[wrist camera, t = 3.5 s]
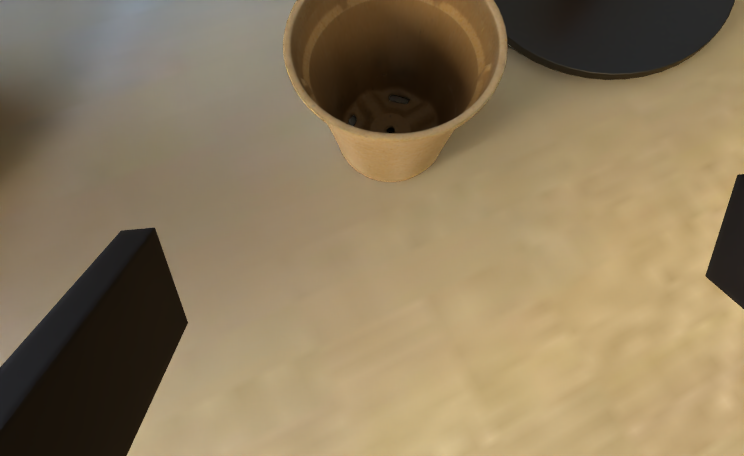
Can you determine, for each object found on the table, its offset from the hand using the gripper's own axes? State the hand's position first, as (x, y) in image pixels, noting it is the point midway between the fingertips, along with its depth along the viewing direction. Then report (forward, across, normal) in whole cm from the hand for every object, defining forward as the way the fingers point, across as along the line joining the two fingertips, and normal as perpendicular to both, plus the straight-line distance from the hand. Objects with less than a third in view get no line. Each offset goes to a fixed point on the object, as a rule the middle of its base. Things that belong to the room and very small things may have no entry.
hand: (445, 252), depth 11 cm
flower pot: (+18, 0, -3) cm, 18 cm away
